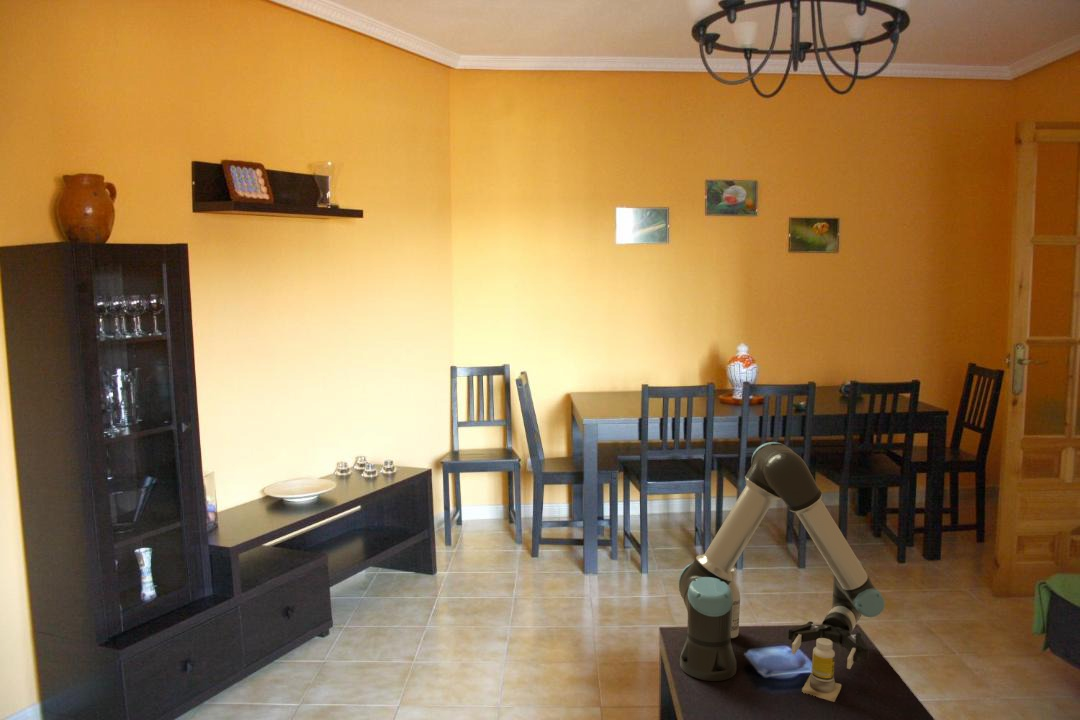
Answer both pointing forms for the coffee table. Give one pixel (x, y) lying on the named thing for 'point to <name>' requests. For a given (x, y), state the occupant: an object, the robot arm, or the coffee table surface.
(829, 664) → the supplement bottle
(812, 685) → the boss
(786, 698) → the coffee table surface
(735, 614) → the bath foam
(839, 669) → the coffee table surface
